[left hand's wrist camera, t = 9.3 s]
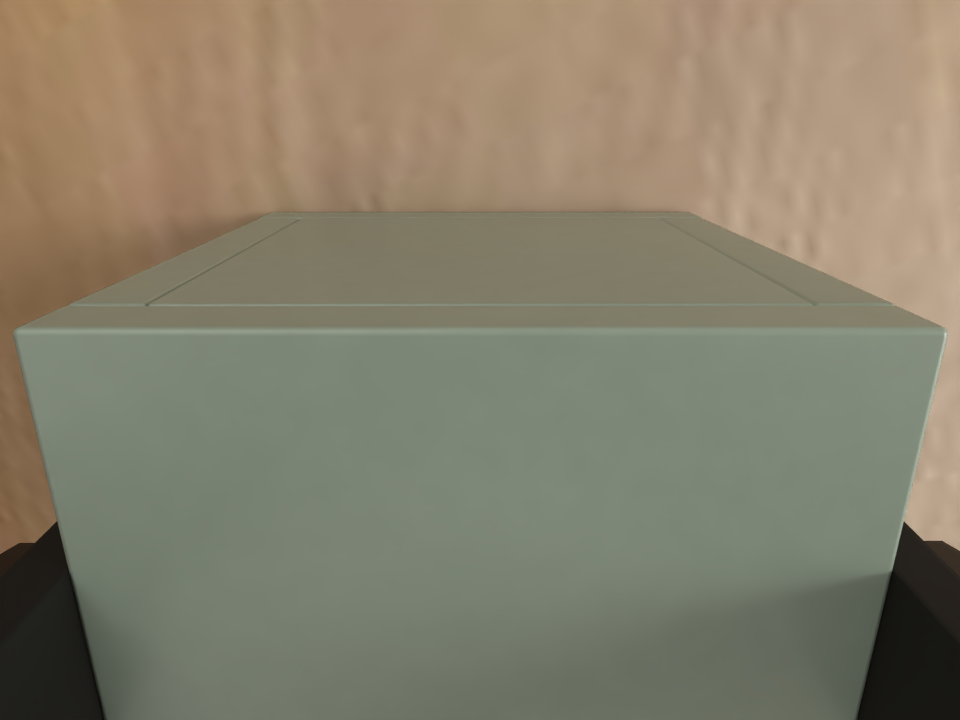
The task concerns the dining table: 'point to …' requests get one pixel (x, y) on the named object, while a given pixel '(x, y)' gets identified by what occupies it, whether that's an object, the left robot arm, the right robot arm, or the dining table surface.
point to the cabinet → (480, 471)
